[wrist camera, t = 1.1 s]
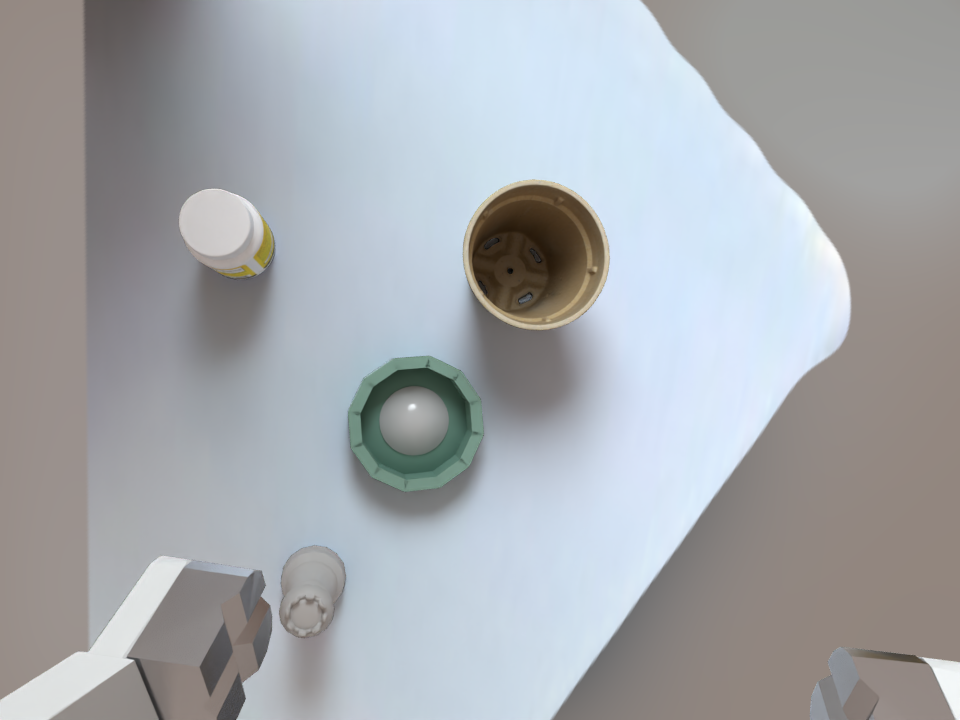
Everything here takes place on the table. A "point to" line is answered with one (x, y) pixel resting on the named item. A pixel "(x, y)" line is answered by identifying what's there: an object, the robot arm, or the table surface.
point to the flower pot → (556, 239)
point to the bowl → (415, 423)
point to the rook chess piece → (310, 590)
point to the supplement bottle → (226, 233)
